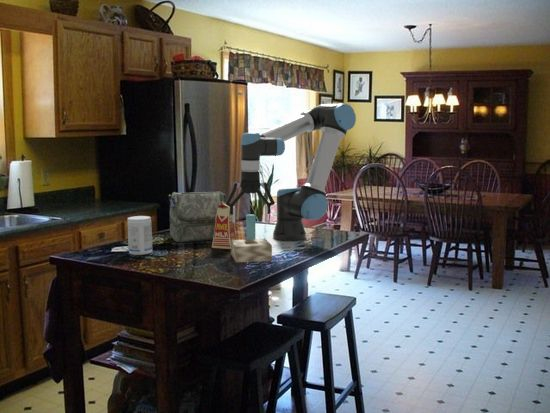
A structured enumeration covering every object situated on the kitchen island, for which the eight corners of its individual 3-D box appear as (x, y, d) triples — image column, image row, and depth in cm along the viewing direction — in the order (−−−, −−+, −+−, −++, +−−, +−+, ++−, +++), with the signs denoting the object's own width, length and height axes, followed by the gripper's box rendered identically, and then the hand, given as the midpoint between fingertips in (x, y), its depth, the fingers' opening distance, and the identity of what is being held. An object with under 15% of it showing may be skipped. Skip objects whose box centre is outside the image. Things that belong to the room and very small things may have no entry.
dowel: (254, 249, 260) (254, 214, 258) (256, 251, 257) (256, 215, 255) (245, 250, 260) (245, 214, 257) (247, 251, 256) (246, 216, 254)
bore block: (265, 253, 253) (265, 238, 252) (271, 260, 240) (271, 245, 239) (231, 254, 250) (231, 240, 250) (235, 262, 237) (235, 246, 236)
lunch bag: (172, 243, 273) (171, 194, 270) (166, 236, 290) (164, 190, 287) (229, 240, 281) (229, 192, 278) (220, 233, 298) (219, 188, 295)
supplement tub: (149, 249, 260) (148, 215, 258) (155, 254, 252) (154, 218, 250) (126, 251, 256) (124, 216, 254) (131, 256, 248) (130, 220, 246)
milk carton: (232, 248, 262) (231, 202, 259) (211, 248, 264) (210, 201, 261) (237, 244, 271) (237, 199, 268) (217, 243, 273) (216, 198, 270)
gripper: (278, 170, 260) (277, 220, 262) (219, 170, 255) (218, 221, 257) (282, 171, 252) (281, 222, 255) (221, 171, 247) (220, 224, 250)
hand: (250, 222), depth 256 cm, fingers open, 13 cm apart
